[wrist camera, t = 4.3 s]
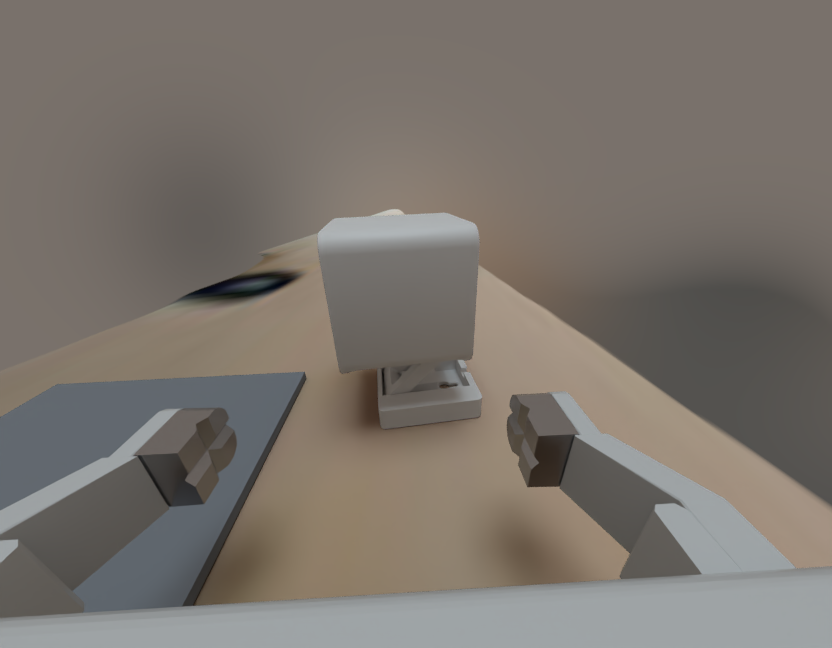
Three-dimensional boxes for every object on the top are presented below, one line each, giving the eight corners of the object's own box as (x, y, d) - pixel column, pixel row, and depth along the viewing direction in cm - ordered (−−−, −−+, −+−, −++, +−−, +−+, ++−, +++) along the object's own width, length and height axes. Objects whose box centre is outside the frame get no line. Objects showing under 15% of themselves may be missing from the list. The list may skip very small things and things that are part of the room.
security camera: (356, 369, 20) (333, 217, 16) (454, 358, 21) (458, 210, 17) (350, 440, 15) (313, 234, 10) (484, 422, 15) (502, 224, 11)
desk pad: (31, 928, 5) (13, 928, 5) (-973, 1015, 5) (-1041, 1020, 5) (306, 378, 20) (304, 371, 19) (61, 390, 19) (56, 384, 19)
